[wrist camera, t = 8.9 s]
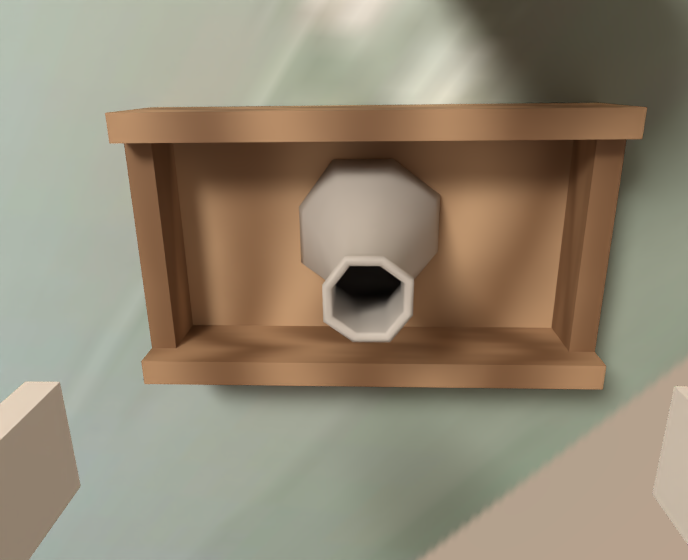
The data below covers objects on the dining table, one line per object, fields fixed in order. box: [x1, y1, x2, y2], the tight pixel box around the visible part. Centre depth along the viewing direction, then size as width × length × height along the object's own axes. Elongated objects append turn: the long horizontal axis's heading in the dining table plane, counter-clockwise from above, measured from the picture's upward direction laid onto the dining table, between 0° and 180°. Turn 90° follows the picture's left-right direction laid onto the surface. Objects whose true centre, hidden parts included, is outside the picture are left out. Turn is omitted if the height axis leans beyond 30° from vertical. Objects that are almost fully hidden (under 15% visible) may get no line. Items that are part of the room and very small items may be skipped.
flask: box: [299, 159, 440, 342], centre depth 24 cm, size 7×7×10 cm
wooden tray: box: [105, 103, 647, 389], centre depth 27 cm, size 21×12×5 cm, turn 91°
